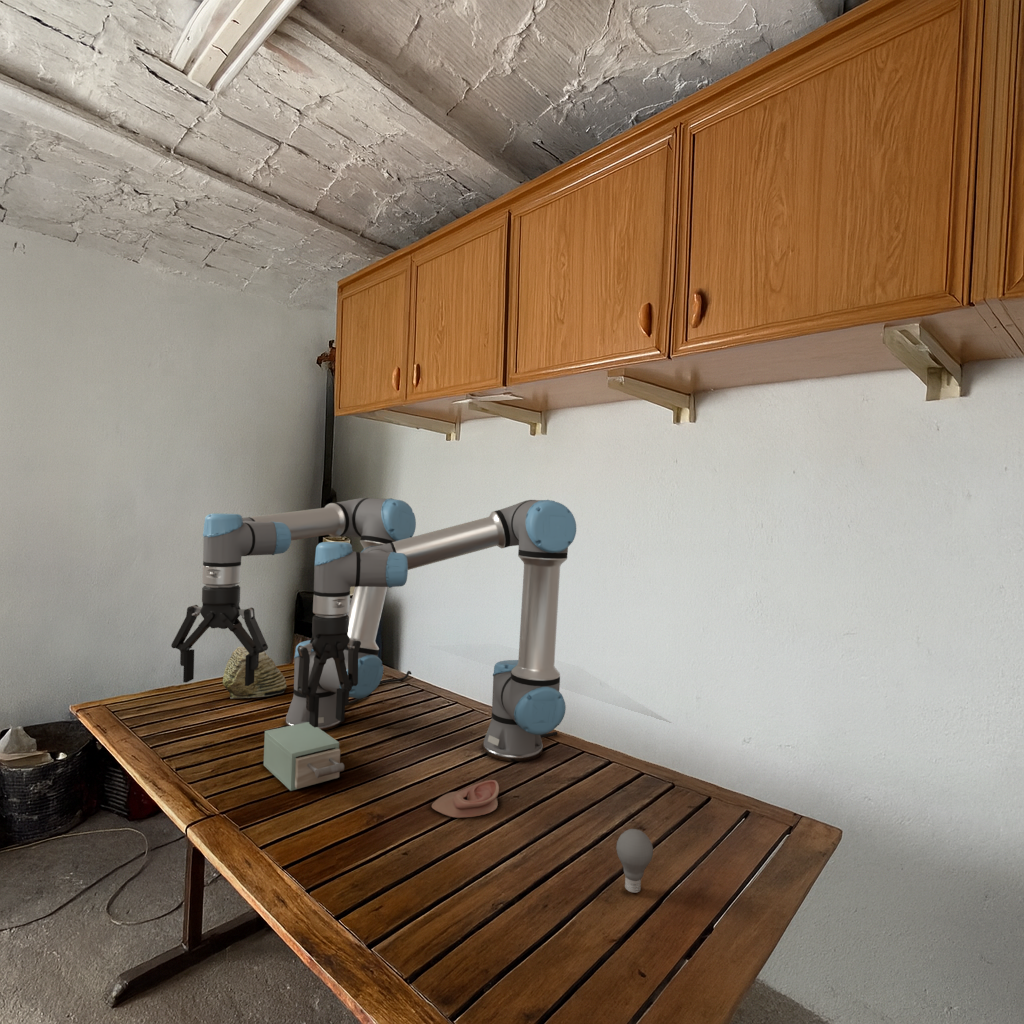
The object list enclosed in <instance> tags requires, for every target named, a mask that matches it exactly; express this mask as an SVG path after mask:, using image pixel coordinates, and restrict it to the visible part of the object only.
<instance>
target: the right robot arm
mask: <svg viewBox="0 0 1024 1024" xmlns="http://www.w3.org/2000/svg"><path fill="white" fill-rule="evenodd" d="M576 534H577V522H576V518H575V516H574V514H573V512H572V511H571V510H570V509H569V508H568V506H566V505H564V504H563V503H562V502H561V503H560V502H558V501H555V500H551V499H528V500H524V501H520V502H517V503H515V504H512V505H509V506H507V507H505V508H501V509H497V510H494V511H491V512H490V514H489V515H488V516H486V517H483V518H479V519H476V520H471V521H468V522H464V523H460V524H456V525H453V526H449V527H445V528H441V529H437V530H433V531H429V532H426V533H421V534H418V535H415V536H414V535H413V536H412V537H410V538H406V539H403V540H399V541H395V542H392V543H388V544H384V545H380V546H370V547H367V548H365V549H364V548H363V549H362V550H361V552H360V551H354V549H353V545H352V544H351V543H350V542H344V541H322V542H319V543H318V544H317V545H316V547H315V555H314V564H313V565H314V566H313V567H314V569H313V570H314V571H313V573H314V574H313V599H312V600H313V602H312V613H313V614H314V615H313V616H312V624H311V625H312V627H311V633H312V635H311V639H310V640H311V641H310V643H309V644H307V645H304V646H301V645H300V646H298V648H297V650H298V653H299V657H300V658H299V673H298V688H297V690H298V692H300V693H301V694H303V695H306V709H307V710H308V711H309V712H310V716H309V724H310V725H312V726H313V727H314V728H315V727H318V715H319V696H318V695H317V694H316V691H317V688H318V684H319V681H320V677H321V674H322V671H323V667H324V665H325V664H326V661H327V659H330V658H333V659H334V661H335V665H336V670H337V674H338V678H339V683H340V687H341V688H338V689H337V695H336V719H338V720H339V721H341V722H342V723H343V722H345V720H346V719H345V717H346V706H345V704H348V702H350V697H349V691H351V690H352V687H353V686H356V685H357V684H358V651H359V648H360V645H361V642H360V641H358V640H355V639H350V638H349V636H348V631H349V616H348V614H349V610H350V605H351V602H350V601H351V588H353V587H354V588H355V587H387V588H390V589H392V588H394V587H395V588H396V587H397V588H398V587H399V588H400V587H404V586H405V585H406V584H407V581H408V574H409V573H408V572H409V570H413V569H417V568H421V567H425V566H428V565H431V564H435V563H439V562H442V561H446V560H450V559H453V558H458V557H461V556H465V555H469V554H472V553H475V552H479V551H483V550H487V549H491V548H494V547H498V548H500V549H505V548H509V547H515V546H518V554H517V557H518V558H519V559H520V560H521V562H522V563H523V574H522V575H523V576H522V592H521V593H522V594H521V609H520V610H521V611H520V628H519V642H518V645H519V646H518V659H510V660H509V659H505V660H500V661H497V662H495V664H494V666H493V673H492V677H493V678H492V679H493V680H492V698H491V699H492V700H491V701H492V702H491V719H490V721H489V725H488V728H487V731H486V733H485V736H484V739H483V742H482V743H483V747H482V750H483V752H484V753H485V754H486V756H489V757H490V758H492V759H495V760H499V761H502V762H511V763H522V762H528V761H532V760H536V759H538V758H539V757H540V756H542V754H543V747H544V745H543V740H542V739H544V738H551V737H555V736H558V731H554V730H555V729H556V728H557V727H558V726H560V725H561V724H562V722H563V720H564V717H565V714H566V708H567V707H566V706H567V705H566V701H565V698H564V696H563V694H562V693H561V692H560V687H561V686H560V685H561V673H560V671H559V669H557V667H556V666H555V660H556V645H557V630H558V629H557V628H558V627H557V626H558V612H559V611H558V610H559V594H560V593H559V592H560V580H561V579H560V577H561V566H562V565H563V564H564V563H565V562H566V561H567V560H568V553H569V547H570V546H571V545H572V544H573V542H574V540H575V538H576ZM347 645H348V648H349V649H348V674H347V670H346V665H345V661H344V660H345V657H344V652H343V651H344V650H345V648H346V646H347ZM311 649H313V650H314V651H315V656H314V664H313V667H312V671H311V674H310V677H309V665H310V657H309V655H310V654H311ZM308 680H309V681H308Z"/></svg>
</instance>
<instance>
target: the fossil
mask: <svg viewBox="0 0 1024 1024" xmlns="http://www.w3.org/2000/svg"><path fill="white" fill-rule="evenodd" d="M248 654H249V652H248V651H247V650H246V649H245V647H244V646H238V647H237V648H236V649H235V650H233V651H232V653H231V656H230V657H229V659H228V660H227V663H226V666H225V668H224V671H223V675H222V676H223V677H222V685H223V687H224V688H225V690H226V691H228V693H229V698H230V699H250V698H264V697H271V696H275V695H281V694H284V693H285V691H286V689H287V687H288V686H287V680H286V678H285V676H284V674H283V673H282V672H281V669H279V668H278V667H277V665H276V663H275V662H274V660H273V659H272V658H271V657H270V656H269V655H268V654H267V653H266V652H265V651H264V652H262V653H259V664H258V668H257V669H255V670H254V683H252V684H251V685H249V686H245V664H246V655H248Z"/></svg>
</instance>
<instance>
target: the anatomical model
mask: <svg viewBox="0 0 1024 1024" xmlns="http://www.w3.org/2000/svg"><path fill="white" fill-rule="evenodd" d="M499 793H500V786H499V782H498V781H497V780H495V779H489V780H485V781H481V782H478V783H475V784H472V785H470V786H467V787H466V788H463V789H461V790H458V791H451V792H447V793H445V794H443V795H442V796H440V797H438V798H437V799H435V800H434V801H433V803H432V804H431V808H432V810H434V811H436V812H438V813H439V814H442V815H444V816H447V817H451V818H454V819H455V818H457V819H459V818H460V819H461V818H463V819H464V818H474V817H480V816H484V815H487V814H490V813H492V812H494V811H495V810H496V809H498V806H499V805H498V804H499V803H498V802H499V801H498V796H499Z"/></svg>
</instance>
